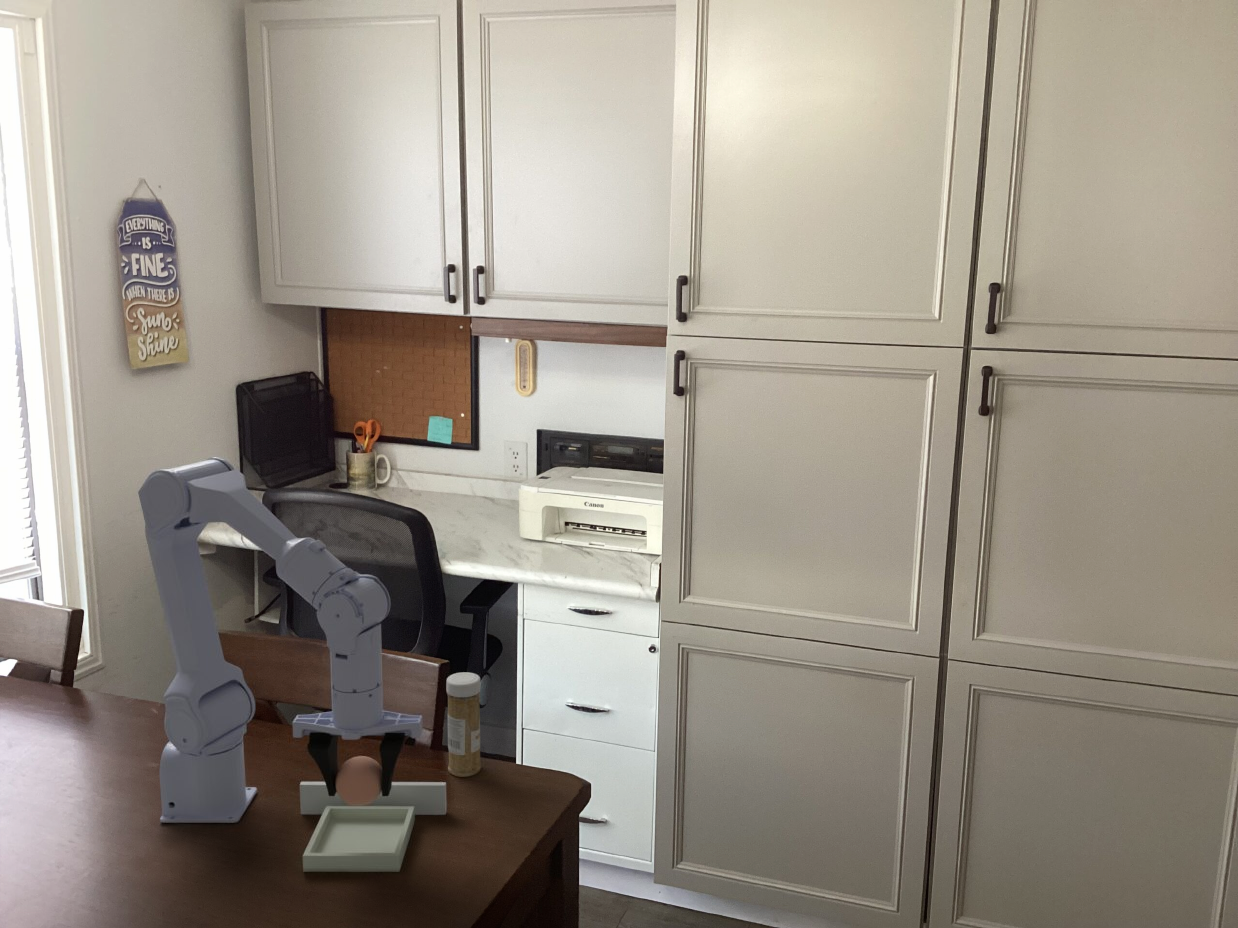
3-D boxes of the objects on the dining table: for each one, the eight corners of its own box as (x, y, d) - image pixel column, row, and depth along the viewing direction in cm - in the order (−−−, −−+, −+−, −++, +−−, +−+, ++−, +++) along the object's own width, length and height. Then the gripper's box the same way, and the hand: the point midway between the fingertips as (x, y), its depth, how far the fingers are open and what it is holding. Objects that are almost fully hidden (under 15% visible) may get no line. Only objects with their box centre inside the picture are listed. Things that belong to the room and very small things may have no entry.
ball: (330, 815, 118) (329, 770, 117) (342, 790, 123) (340, 747, 122) (379, 815, 118) (378, 770, 117) (389, 790, 123) (388, 747, 122)
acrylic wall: (300, 814, 128) (299, 784, 127) (302, 810, 129) (301, 781, 128) (445, 814, 129) (445, 785, 128) (446, 811, 129) (446, 782, 129)
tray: (303, 871, 116) (302, 855, 116) (326, 820, 127) (326, 805, 126) (399, 871, 116) (398, 855, 116) (414, 820, 127) (414, 806, 127)
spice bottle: (486, 772, 139) (486, 679, 137) (455, 781, 137) (455, 686, 134) (472, 758, 143) (471, 668, 141) (441, 767, 141) (440, 674, 138)
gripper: (282, 696, 113) (288, 809, 116) (414, 697, 114) (416, 809, 116) (300, 672, 120) (304, 778, 123) (424, 672, 121) (426, 778, 123)
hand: (360, 791), depth 120 cm, fingers closed on ball, 6 cm apart
